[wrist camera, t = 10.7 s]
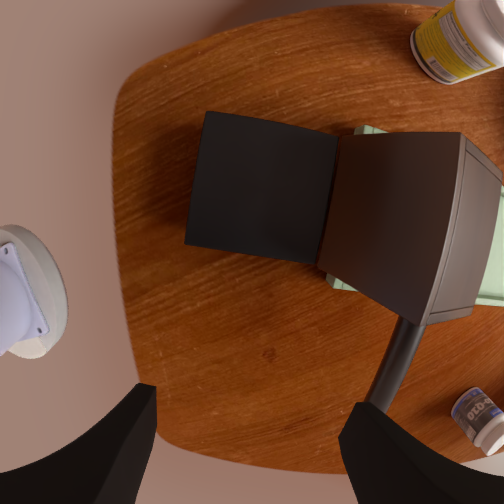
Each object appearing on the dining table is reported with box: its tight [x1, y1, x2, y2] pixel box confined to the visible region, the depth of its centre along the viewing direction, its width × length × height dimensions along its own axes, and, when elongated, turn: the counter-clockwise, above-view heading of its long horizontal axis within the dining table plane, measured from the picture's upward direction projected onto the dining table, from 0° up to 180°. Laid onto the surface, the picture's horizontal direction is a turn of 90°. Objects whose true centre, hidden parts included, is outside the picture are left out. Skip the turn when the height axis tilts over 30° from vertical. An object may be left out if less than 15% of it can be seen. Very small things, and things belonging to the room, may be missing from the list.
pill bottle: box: [451, 387, 504, 456], centre depth 20 cm, size 5×5×8 cm
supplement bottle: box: [410, 0, 504, 84], centre depth 11 cm, size 5×5×10 cm
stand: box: [184, 111, 339, 264], centre depth 16 cm, size 7×7×4 cm
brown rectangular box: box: [317, 132, 503, 414], centre depth 13 cm, size 7×14×5 cm
